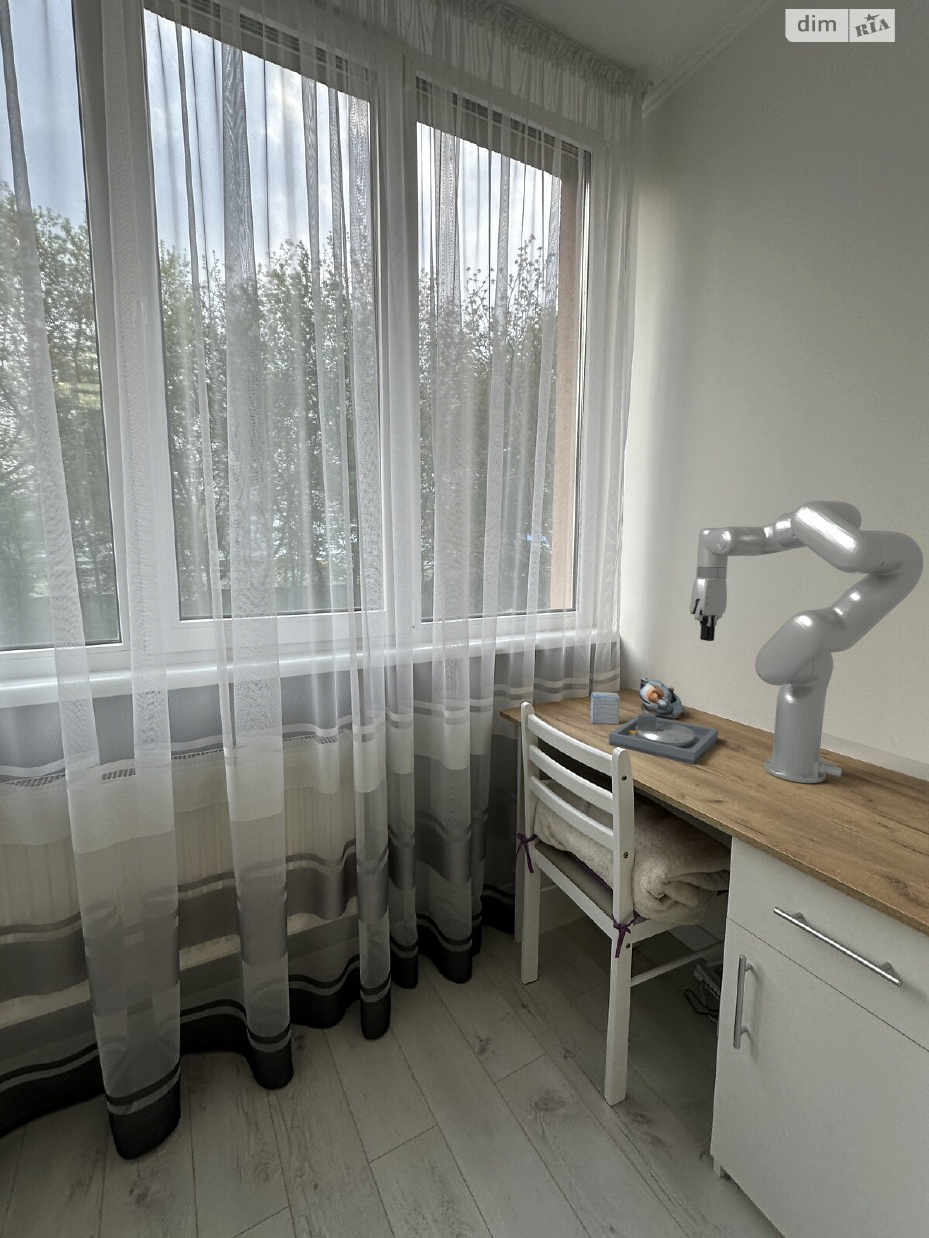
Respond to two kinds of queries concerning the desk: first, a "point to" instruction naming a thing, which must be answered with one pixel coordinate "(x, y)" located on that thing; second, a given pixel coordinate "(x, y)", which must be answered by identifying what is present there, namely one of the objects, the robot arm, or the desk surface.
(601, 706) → the medicine box
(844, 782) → the desk surface
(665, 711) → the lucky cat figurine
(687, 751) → the square tray
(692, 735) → the dial
